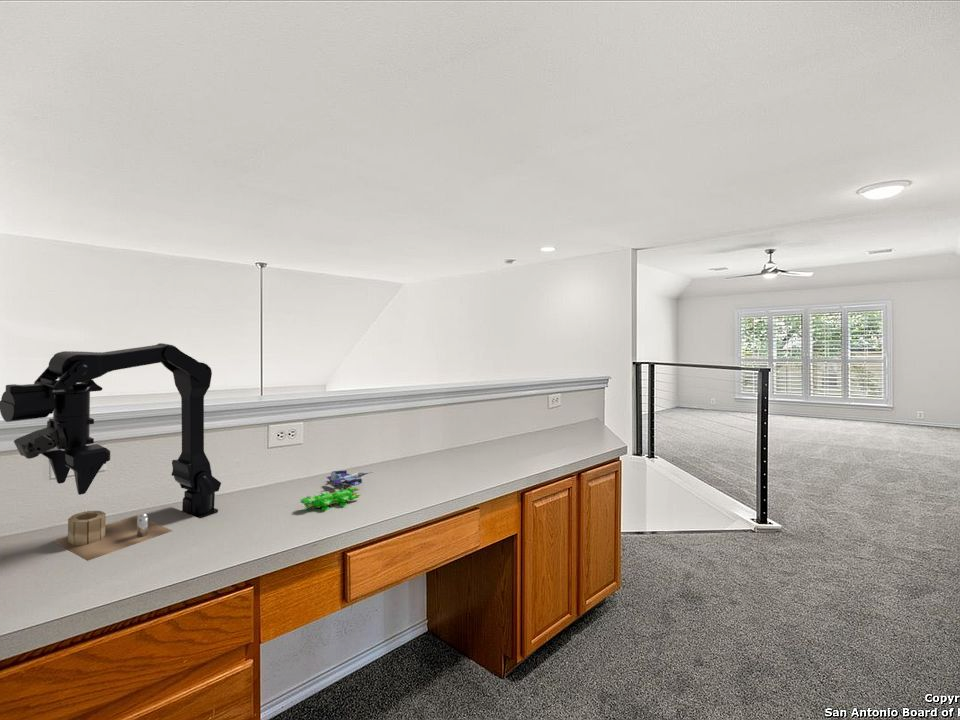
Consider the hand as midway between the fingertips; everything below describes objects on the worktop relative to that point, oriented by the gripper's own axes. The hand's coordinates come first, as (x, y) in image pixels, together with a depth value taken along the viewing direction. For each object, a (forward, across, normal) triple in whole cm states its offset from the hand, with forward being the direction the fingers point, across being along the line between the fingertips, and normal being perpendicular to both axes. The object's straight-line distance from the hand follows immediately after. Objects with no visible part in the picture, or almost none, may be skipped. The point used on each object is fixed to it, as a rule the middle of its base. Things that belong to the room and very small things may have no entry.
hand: (71, 488), depth 102 cm
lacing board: (+14, 0, +8) cm, 17 cm away
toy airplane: (+15, +12, +69) cm, 71 cm away
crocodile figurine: (+15, +19, +54) cm, 59 cm away
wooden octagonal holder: (+13, -3, +4) cm, 14 cm away
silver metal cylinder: (+13, +4, +12) cm, 18 cm away
